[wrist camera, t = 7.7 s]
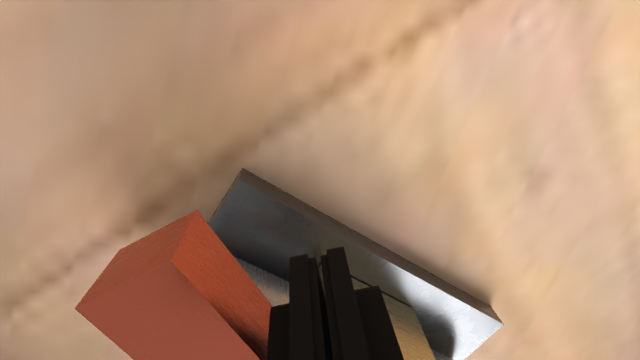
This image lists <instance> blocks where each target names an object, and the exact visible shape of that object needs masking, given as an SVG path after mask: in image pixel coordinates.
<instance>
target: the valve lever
mask: <svg viewBox="0 0 640 360" xmlns="http://www.w3.org/2000/svg"><path fill="white" fill-rule="evenodd" d="M271 307H273V306H272V305H271V303H270V302H269V301H268V299H267V298H266V297H265V296H264V294H263V293H262V292H261V291H260V289H259V288H258V287H257V286H256V284H255V283H254V282H253V280H252V279H251V278H250V277H249V275H248V274H247V273H246V272H245V270H244V269H243V268H242V267H241V265H240V264H239V263H238V261H237V260H236V259H235V258H234V256H233V255H232V254H231V253H230V251H229V250H228V249H227V248H226V246H225V245H224V244H223V243H222V241H221V240H220V239H219V237H218V236H217V235H216V234H215V232H214V231H213V230H212V229H211V227H210V226H209V225H208V224H207V222H206V221H205V220H204V218H203V217H202V216H201V215H200V213H199V212H198V211H197V210H196V211H194V212H192V213H190V214H188V215H186V216H184V217H183V218H181V219H179V220H177V221H175V222H173V223H171V224H169V225H167V226H165V227H163V228H161V229H159V230H157V231H155V232H153V233H151V234H149V235H148V236H146V237H144V238H142V239H140V240H138V241H136V242H134V243H132V244H130V245H128V246H126V247H124V248H122V249H120V250H119V251H118V253H117V254H116V255H115V257H114V258H113V259H112V261H111V262H110V263H109V264H108V266H107V267H106V268H105V270H104V271H103V272H102V274H101V275H100V276H99V277H98V279H97V280H96V281H95V283H94V284H93V285H92V287H91V288H90V289H89V290H88V292H87V293H86V294H85V296H84V297H83V298H82V300H81V301H80V302H79V303H78V305H77V306H76V307H75V309H76V310H77V311H78V312H79V313H80V314H82V315H83V316H84V317H85V318H86V319H87V320H88V321H90V322H91V323H92V324H93V325H94V326H95V327H97V328H98V329H99V330H100V331H101V332H102V333H104V334H105V335H106V336H107V337H108V338H109V339H110V340H112V341H113V342H114V343H115V344H116V345H117V346H119V347H120V348H121V349H122V350H123V351H124V352H126V353H127V354H128V355H129V356H130V357H131V358H132V359H134V360H266V359H267V345H268V332H269V319H270V310H271Z"/></svg>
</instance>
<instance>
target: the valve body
mask: <svg viewBox="0 0 640 360" xmlns="http://www.w3.org/2000/svg"><path fill="white" fill-rule="evenodd" d="M208 225H209V226H210V227H211V229H212V230H213V231H214V232H215V234H216V235H217V236H218V237H219V239H220V240H221V241H222V243H223V244H224V245H225V246H226V248H227V249H228V250H229V251H230V253H231V254H232V255H233V256H234V258H235V259H236V260H237V261H238V263H239V264H240V265H241V267H242V268H243V269H244V270H245V272H246V273H247V274H248V275H249V277H250V278H251V279H252V280H253V282H254V283H255V284H256V286H257V287H258V288H259V289H260V291H261V292H262V293H263V294H264V296H265V297H266V298H267V299H268V301H269V302H270V303H271V305H272V306H278V305H283V304H288V303H289V263H290V257H293V256H298V255H303V254H308V256H309V258H312V257H315V258H316V261H317V265H318V269H319V273H320V278H321V282H322V286H323V290H324V282H323V274H322V266H321V258H320V256H322V255H327V251H326V250H327V249H332V248H337V247H342V246H344V249H345V254H346V258H347V262H348V266H349V271H350V275H351V279H352V283H353V287H354V290H357V289H362V288H367V287H372V286H377V285H379V287H380V290H381V293H382V296H383V299H384V302H385V305H386V308H387V311H388V313H389V316H390V319H391V322H392V325H393V328H394V331H395V334H396V337H397V340H398V343H399V346H400V349H401V352H402V355H403V358H404V360H464V359H465V358H466V357H467V356H469V355H470V354H471V353H472V352H473V351H474V350H475V349H477V348H478V347H479V346H480V345H481V344H482V343H483V342H484V341H486V340H487V339H488V338H489V337H490V336H491V335H492V334H494V333H495V332H496V331H497V330H498V329H499V328H500V327H501V326H503V325H504V324H503V323H502V321H501V320H500V319H499V317H498V316H497V314H496V313H495V312H494V310H493V309H492V308H491V307H490V306H488V305H486V304H484V303H482V302H481V301H479V300H477V299H475V298H474V297H472V296H470V295H468V294H466V293H465V292H463V291H461V290H459V289H457V288H456V287H454V286H452V285H450V284H449V283H447V282H445V281H443V280H441V279H440V278H438V277H436V276H434V275H432V274H431V273H429V272H427V271H425V270H423V269H422V268H420V267H418V266H416V265H415V264H413V263H411V262H409V261H407V260H406V259H404V258H402V257H400V256H398V255H397V254H395V253H393V252H391V251H390V250H388V249H386V248H384V247H382V246H381V245H379V244H377V243H375V242H373V241H372V240H370V239H368V238H366V237H364V236H363V235H361V234H359V233H357V232H356V231H354V230H352V229H350V228H348V227H347V226H345V225H343V224H341V223H339V222H338V221H336V220H334V219H332V218H331V217H329V216H327V215H325V214H323V213H322V212H320V211H318V210H316V209H314V208H313V207H311V206H309V205H307V204H305V203H304V202H302V201H300V200H298V199H297V198H295V197H293V196H291V195H289V194H288V193H286V192H284V191H282V190H280V189H279V188H277V187H275V186H273V185H272V184H270V183H268V182H266V181H264V180H263V179H261V178H259V177H257V176H255V175H254V174H252V173H250V172H248V171H246V170H245V169H243V168H242V170H241V171H240V173H239V175H238V176H237V178H236V179H235V181H234V183H233V184H232V186H231V187H230V189H229V190H228V192H227V194H226V195H225V197H224V198H223V200H222V202H221V203H220V205H219V206H218V208H217V209H216V211H215V213H214V214H213V216H212V217H211V219H210V220H209V222H208ZM324 294H325V290H324Z"/></svg>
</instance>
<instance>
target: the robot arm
mask: <svg viewBox="0 0 640 360" xmlns="http://www.w3.org/2000/svg"><path fill="white" fill-rule="evenodd" d="M326 251H327V255H322V256H320V258H321V266H322V274H323V282H324V290H325V294H324V290H323V286H322V282H321V278H320V273H319V269H318V265H317V261H316V258H315V257H312V258H309V256H308V254H303V255H298V256H293V257H290V263H289V303H288V304H283V305H278V306H273V307H271V310H270V319H269V332H268V345H267V359H266V360H404V358H403V355H402V352H401V349H400V346H399V343H398V340H397V337H396V334H395V331H394V328H393V325H392V322H391V319H390V316H389V313H388V311H387V308H386V305H385V302H384V299H383V296H382V293H381V290H380V287H379V285H377V286H372V287H367V288H362V289H357V290H354V287H353V283H352V279H351V275H350V271H349V266H348V262H347V258H346V254H345V249H344V246H342V247H337V248H332V249H327V250H326Z"/></svg>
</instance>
